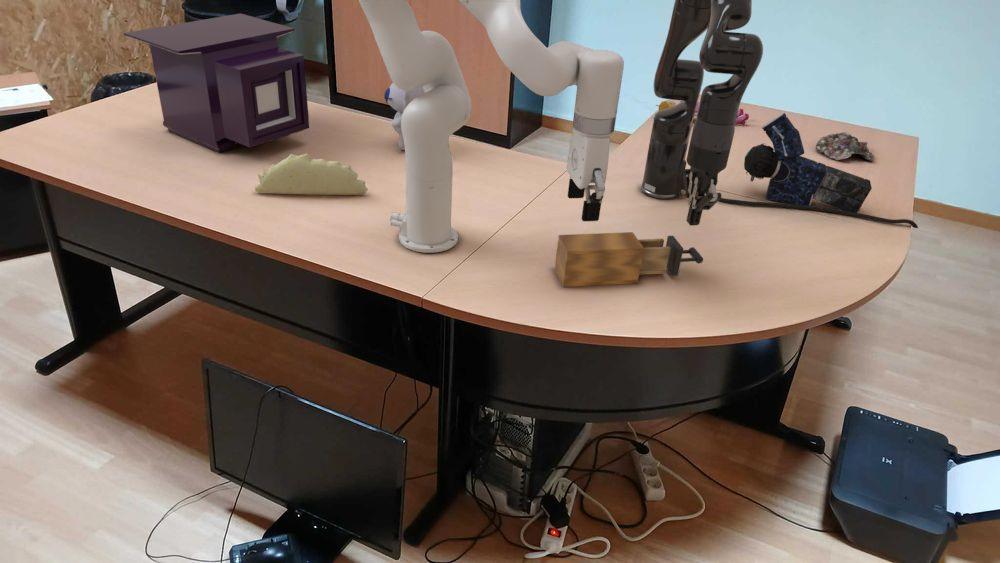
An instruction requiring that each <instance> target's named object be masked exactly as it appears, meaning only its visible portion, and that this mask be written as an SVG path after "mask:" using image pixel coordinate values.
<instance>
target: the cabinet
mask: <svg viewBox="0 0 1000 563" xmlns="http://www.w3.org/2000/svg"><path fill="white" fill-rule="evenodd" d="M557 238H558V239H557V245H556V246H557V247H556V255H555V263H554V272H555V274H556V275H557V278H558V280H559V282H560V284H561V286H562V287H563V288H572V287H574V288H575V287H591V286H592V287H593V286H609V285H627V284H628V285H630V284H638V282H639V279H640V278H639V276H640V275H639V272H640V267H641V262H642V257H643V251H644V247H643V246H642V244H641V243H640V242H639V240H640V239H638V238H637V236H636V235H635V233H634V232H633V231H629V232H628V231H627V232H625V231H624V232H603V233H601V232H600V233H577V234H558V237H557Z"/></svg>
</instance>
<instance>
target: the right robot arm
mask: <svg viewBox="0 0 1000 563" xmlns="http://www.w3.org/2000/svg"><path fill="white" fill-rule="evenodd" d="M752 1H753V0H674V3H673V8H672V13H671V18H670V21H669V27H668V31H667V36H666V38H665V42H664V45H663V49H662V52H661V54H660V57H659V60H658V63H657V67H656V70H655V73H654V74H655V75H654V78H653V93H654V96H656V97H657V98H659V99H663V100H669V101H671V100H672V101H679V103H677V104H675V106H673V107H670V108H667V109H664V110H660V111H659V110H658V111H657V112H656V113H655V114H654V116H653V122H652V128H651V133H650V138H649V144H648V148H647V156H646V160H645V161H646V162H645V165H644V172H643V178H642V183H641V186H640V190H641V192H642V193H643V194H645V195H646V196H649V197H651V198H655V199H660V200H661V199H662V200H669V199H670V200H671V199H674V198H678V199H679V198H680V196H681V192H682V191H684V195H685V199H688V200H687V204H688V210H687V211H688V212H687V216H686V222H687V224H688V226H699V225H700V223H701V219H702V215H703V211H710V210H711V209H712V208H713V207H714V206H715V205H716V204H717V203H719V202H720V203H724V204H725V203H726V204H735V205H743V206H756V207H772V208H775V207H776V208H786V209H787V208H788V209H789V208H790V209H799V210H800V209H801V210H810V211H819V212H826V213H833V214H838V215H839V214H840V215H844V216H845V215H846V216H850V217H857V218H862V219H866V220H871V221H875V222H881V223H885V224H886V223H887V224H894V225H895V224H897V225H898V224H907V225H910V226H911V227H912V228H913V229H919V226H918V224H917V223H916V222H915V221H914V220H912V219H908V218H899V219H898V218H897V219H891V218H886V217H879V216H875V215H870V214H865V213H861V212H858V213H855V212H850V211H845V210H841V209H838V208H832V207H825V206H816V205H811V206H808V205H798V204H790V203H785V202H768V201H751V200H749V201H748V200H742V199H734V198H733V199H731V198H723V197H722V193H721V192H717V189H716V186H717V185H718V182H719V180H718V179H719V173H721V172H722V171H724V170H725V169H726V168H727V165H728V161H729V156H730V153H731V149H732V145H733V140H734V136H735V129H736V124H735V122H736V118H737V114H738V111H739V109H740V106H741V102H742V100H743V99H742V98H743V97H744V94H745V92H746V90H747V88H748V86H749V85H750V82H751V81H752V79H753V77H754V75H755V74H756V72H757V70H758V68H759V66H760V64H761V62H762V59H763V56H764V44H763V41H762V39H761V38H760V37H759V35H757V34H755V33H750V32H749V33H748V32H735V31H736V30H739V29H742V28H743V27H745V26H746V25H748V24H749V22H750V20H751V18H752V11H753V8H752V7H753V5H752V4H753V2H752ZM705 32H706V33H705ZM704 33H705V36H704V39H703V41H702V43H701V47H700V50H699V54H698V55H699V57H698V58H699V59H698V60H694V59H681V58H680V56H681V55H682V53H683V52H684V50H686V48H687V47H688V46H690V45H691V44H692V43H693V42H694V41H696V40H697V39H698V38H699V37H700V36H702V35H703V34H704ZM705 72H707V73H712V74H726V75H731V76H730V77H729V79H727V80H726V81H721V82H718V83H711V84H708V85H706V86H705V87H704V88H703V83H704V77H705ZM702 88H703V89H702ZM701 91H702V92H701ZM700 94H701V96H700ZM680 101H681V102H680ZM697 102H700V104H699V109H698V113H697V116H696V118H695V116H694V115H695V110H696V106H697ZM693 119H696V120H695V121H693ZM693 122H694V124H693ZM687 165H688V166H689V167H690V168H686V167H687Z"/></svg>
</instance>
